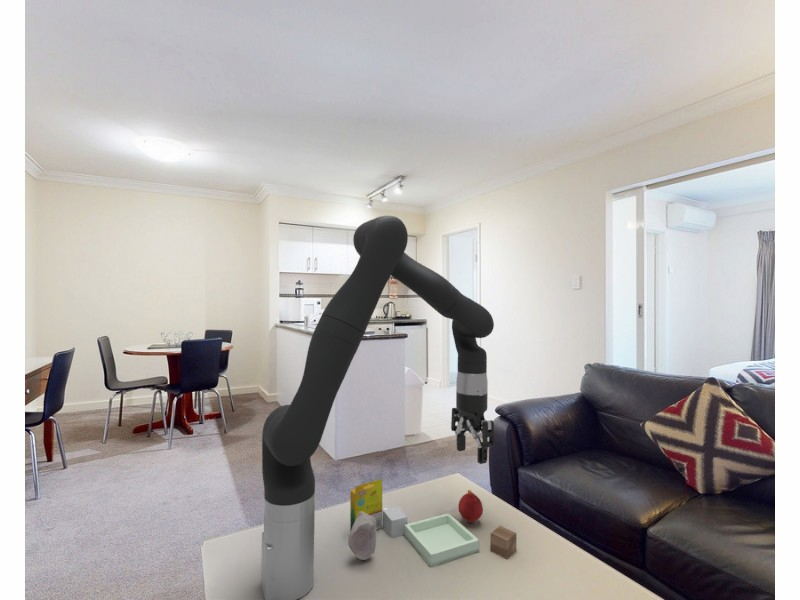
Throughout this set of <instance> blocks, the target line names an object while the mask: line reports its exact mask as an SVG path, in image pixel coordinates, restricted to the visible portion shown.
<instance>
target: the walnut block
mask: <svg viewBox="0 0 800 600" xmlns="http://www.w3.org/2000/svg"><path fill="white" fill-rule="evenodd" d="M489 549H490V553H491V552H492V553H493V554H496V555H497V556H499V557H501V558H504V559H506V560H509V559H510V558H511V557H512V556H513V555H514V554H515V553H516V552H517V532H515V531H514V530H511V529H509V528H506V527H504V526H503V525H498V526H497V527H496V528H495V529H494V530H492V531H491V532H490V548H489Z"/></svg>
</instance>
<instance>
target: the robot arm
mask: <svg viewBox="0 0 800 600" xmlns="http://www.w3.org/2000/svg"><path fill="white" fill-rule="evenodd" d="M408 236H409V235H408V229H407V227H406V225H405V224H404V221H402V220H401V219H400V218H398V217H397V216H393V215H383V216H377V217H375V218H373V219H370V220H367V221H364V222H363V223H361V224H360V225H359V226H358V227H357V228H356V229H355V231H354V234H353V239H352V241H353V247H354V249H355V251H356V253H357V254H358V255H359V258H358V261H357V264H356V266H355V267H354V269H353V271H352V272H351V274H350V276H349V277H348V279H346V281H345V282H344V283H343V284H342V285H341V286H340V288H339V289H338V290H337V291H336V292H335V294H334V295H333V297H332V298H331V299H330V300H329V302H328V303H327V304H326V307H325V308H324V310H323V312H322V314H321V316H320V318H319V319H318V322H317V324H316V326H315V328H314V331H313V333H312V334H311V338H310V341H309V345H308V350H307V353H306V359H305V364H304V371H303V375H302V378H301V381H300V385H299V387H298V388H297V391H296V393H295V395H294V396H293V399H292V401H291V402H290V404H284V405H281V406H279V407H276V408H275V409H274V410H273V411H272V412H270V413H269V414H268V416H267V417H266V419H265V421H264V423H263V427H262V434H261V435H262V437H261V456H262V457H261V460H262V461H261V467H262V468H261V470H262V471H261V472H262V480H263V488H264V490H263V491H264V492H263V494H264V496H263V497H264V498H263V531H262V532H261V559H260V560H261V566H260V567H261V569H260V576H261V577H260V583H261V588H262V593H263V597H264V600H298V599H301V598H303V597H304V596H306V595H307V594H308V592H310V591H311V589H312V587H314V578H315V516H316V515H315V510H316V509H315V507H316V506H315V505H316V503H315V502H316V478H315V477H316V476H315V473H314V471H313V467H312V462H311V457H312V456H313V455H314V454H315V453H316V451H317V449H318V448H319V445H320V443H321V440H322V438H323V435H324V432H325V428H326V425H327V424H328V420H329V417H330V414H331V410H332V407H333V405H334V402H335V400H336V397H337V394H338V392H339V390H340V388H341V386H342V384H343V381H344V379H345V377H346V376H347V375H346V374H347V373H348V370H349V368H350V366H351V364H352V361H353V359H354V357H355V355H356V353H357V351H358V350H359V347H360V344H361V342H362V340H363V338H364V335H365V333H366V331H367V330H368V329H367V328H368V326H369V324H370V322H371V319H372V316H373V314H374V311H375V310H376V308H377V306H378V303H379V301H380V298H381V297H382V296H381V295H382V294H383V291H384V288H385V287H386V285H387V283H388V282H389V280H390V277H393V279H395V280H397V281H398V282H400V283H401V284H403V285H404V286H405V287H407V288H408V289H409V290H411V291H412V292H413V293H414V294H416V295H417V296H418V297H419V298H421V299H422V301H423V300H424V302H425V303H427V304H428V305H429V306H430V307H431V308H432V309H434V310H435V311H436V312H437V313H439V314H440V315H441V316H442V317H445V318H446V319H449V320H452V321H451V330H452V332H451V333H452V335H453V341H454V345H455V349H456V352H457V375H456V383H455V384H456V385H455V387H456V389H455V390H456V391H455V393H456V397H455V401H456V403H455V407H453V408H451V421H450V422H451V423H450V425H451V426H450V428H451V432H454V435H455V436H456V451H458V452H463V451H464V452H465V451H466V434H467V432H468V433H470V434H471V436H472V438H473V439H474V440H475V442H476V444H477V458H476V459H477V463H478V464H480V465H482V464H486V463H487V462H488V448H493V447H495V424H494V423H495V422H494V420H492V419H491V420H487V419H486V418H485V412H487V410H488V391H489V388H488V386H489V381H488V374H487V373H488V371H487V369H488V366H487V365H488V364H487V363H488V361H487V359H488V357H487V352H486V350H485V349H484V348H483V347H481V346H479V345H478V342H477V339H484V338H486V337H488V336H490V335H491V334H492V332H493V330H494V326H495V323H494V318H493V316H492V314H491V313H490V311H489V310H488V309H486V308H485V307H484V306H483V305H481V304H480V303H478V302H476V301H474V300H473V299H471V298H470V297H468V296H466V295H464V294H463V293H462V292H460V290H458V289H457V288H456V287H455V286H454V285H453V284H452V282H450V281H449V280H447V279H446V278H445V277H444V276H442V275H441V274H439V273H438V272H437V271H434V270H432V269H431V268H429V267H427V266H425V265H423V264H422V263H420V262H418V261H416V260H415V259H414V258H412V257H411V256H409V255H408V254H407V253H406V252H405V251H406V249H407V246H408V239H409V238H408ZM456 423H457V425H456ZM480 432H481V433H480Z"/></svg>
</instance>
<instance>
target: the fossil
mask: <svg viewBox="0 0 800 600" xmlns="http://www.w3.org/2000/svg"><path fill="white" fill-rule="evenodd" d="M347 545H348V548H349V550H350V552H351V553H352V554H353V555H354V556H355V557H356V558H357V559H359V560H363V561H364V560H365V561H366V560H368V559H370V558H371V556H372V555H373V554H375V551H376V548H377V547H376V546H377V529H376V520H375V518H374V517H371V516H369V515H368V514H365V513H364V512H362V511H361V512H359V514H358V515H357V518H356V520H355V522H354V524H353V527H352V529H351V531H350V533H349V535H348V543H347Z"/></svg>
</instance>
